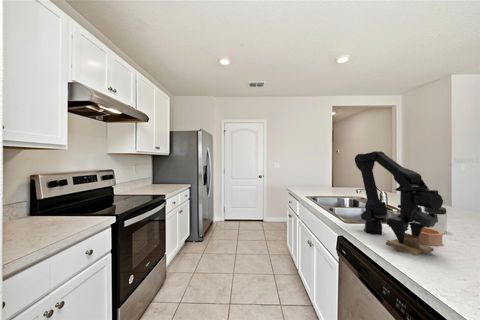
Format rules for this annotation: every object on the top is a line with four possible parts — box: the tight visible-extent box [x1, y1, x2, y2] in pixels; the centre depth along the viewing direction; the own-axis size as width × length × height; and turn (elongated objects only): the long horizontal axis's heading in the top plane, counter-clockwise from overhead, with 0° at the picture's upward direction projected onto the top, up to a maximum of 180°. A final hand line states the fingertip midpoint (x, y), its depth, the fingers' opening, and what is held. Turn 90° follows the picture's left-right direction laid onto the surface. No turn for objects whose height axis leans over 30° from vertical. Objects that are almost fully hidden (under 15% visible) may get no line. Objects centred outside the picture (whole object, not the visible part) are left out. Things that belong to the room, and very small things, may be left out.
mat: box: [386, 239, 436, 257], centre depth 86 cm, size 12×12×1 cm
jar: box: [423, 206, 448, 235], centre depth 106 cm, size 9×8×12 cm
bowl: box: [410, 227, 444, 247], centre depth 93 cm, size 10×10×5 cm
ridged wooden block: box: [385, 232, 434, 256], centre depth 86 cm, size 11×11×5 cm
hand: (408, 241), depth 86 cm, fingers open, 9 cm apart
